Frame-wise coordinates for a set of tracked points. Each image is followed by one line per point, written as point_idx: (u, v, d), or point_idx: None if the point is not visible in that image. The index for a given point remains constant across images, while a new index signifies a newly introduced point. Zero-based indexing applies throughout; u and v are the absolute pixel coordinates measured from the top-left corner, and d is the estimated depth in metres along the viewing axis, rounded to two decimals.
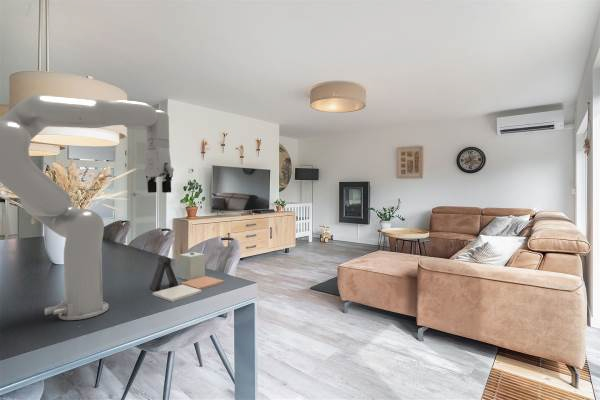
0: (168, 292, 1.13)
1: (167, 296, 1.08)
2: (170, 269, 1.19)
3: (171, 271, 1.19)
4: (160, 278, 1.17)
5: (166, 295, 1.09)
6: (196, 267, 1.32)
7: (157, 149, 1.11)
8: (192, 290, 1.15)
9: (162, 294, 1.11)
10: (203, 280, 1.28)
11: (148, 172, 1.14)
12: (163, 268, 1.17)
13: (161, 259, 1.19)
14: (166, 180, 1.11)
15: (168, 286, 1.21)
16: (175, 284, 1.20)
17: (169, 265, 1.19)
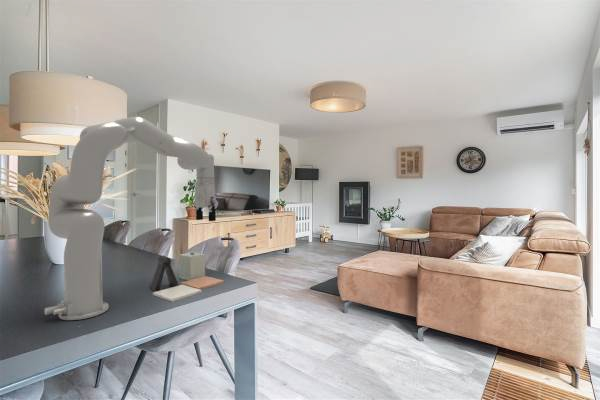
0: (168, 292, 1.13)
1: (167, 296, 1.08)
2: (170, 269, 1.19)
3: (171, 271, 1.19)
4: (160, 278, 1.17)
5: (166, 295, 1.09)
6: (196, 267, 1.32)
7: (205, 186, 1.35)
8: (192, 290, 1.15)
9: (162, 294, 1.11)
10: (203, 280, 1.28)
11: (197, 204, 1.39)
12: (163, 268, 1.17)
13: (161, 259, 1.19)
14: (212, 211, 1.35)
15: (168, 286, 1.21)
16: (175, 284, 1.20)
17: (169, 265, 1.19)
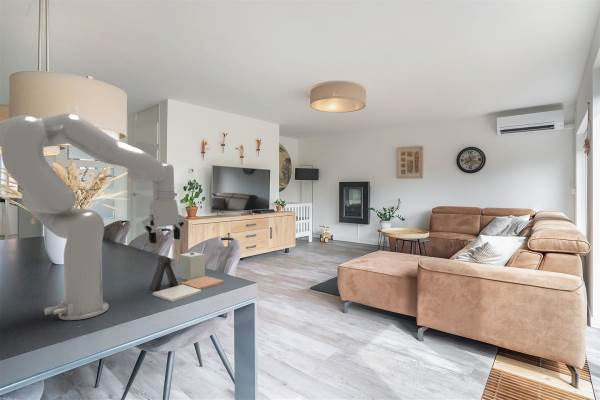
0: (168, 292, 1.13)
1: (167, 296, 1.08)
2: (170, 269, 1.19)
3: (171, 271, 1.19)
4: (160, 278, 1.17)
5: (166, 295, 1.09)
6: (196, 267, 1.32)
7: None
8: (192, 290, 1.15)
9: (162, 294, 1.11)
10: (203, 280, 1.28)
11: None
12: (163, 268, 1.17)
13: (161, 259, 1.19)
14: (148, 231, 1.16)
15: (168, 286, 1.21)
16: (175, 284, 1.20)
17: (169, 265, 1.19)
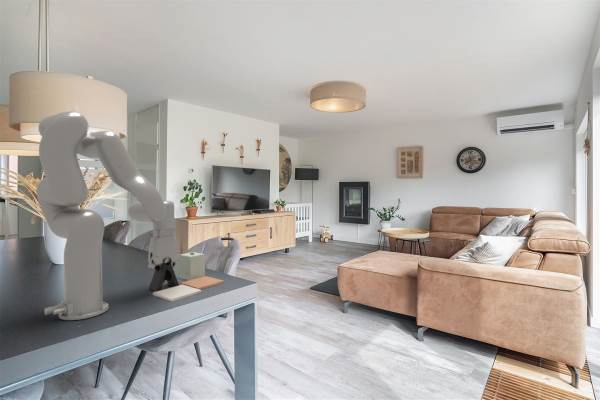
0: (168, 292, 1.13)
1: (167, 296, 1.08)
2: (171, 269, 1.19)
3: (172, 271, 1.20)
4: (162, 278, 1.17)
5: (166, 295, 1.09)
6: (196, 267, 1.32)
7: None
8: (192, 290, 1.15)
9: (162, 294, 1.11)
10: (203, 280, 1.28)
11: None
12: (164, 268, 1.17)
13: None
14: None
15: (168, 286, 1.21)
16: (176, 283, 1.21)
17: (170, 265, 1.19)
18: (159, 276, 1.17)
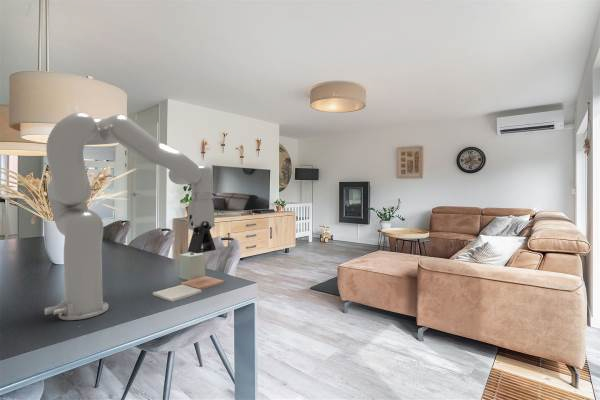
0: (168, 292, 1.13)
1: (167, 296, 1.08)
2: (209, 232, 1.25)
3: (209, 234, 1.25)
4: (201, 240, 1.22)
5: (166, 295, 1.09)
6: (196, 267, 1.32)
7: None
8: (192, 290, 1.15)
9: (162, 294, 1.11)
10: (203, 280, 1.28)
11: None
12: (203, 231, 1.23)
13: None
14: None
15: (205, 249, 1.27)
16: (212, 246, 1.26)
17: (208, 228, 1.24)
18: (198, 239, 1.22)
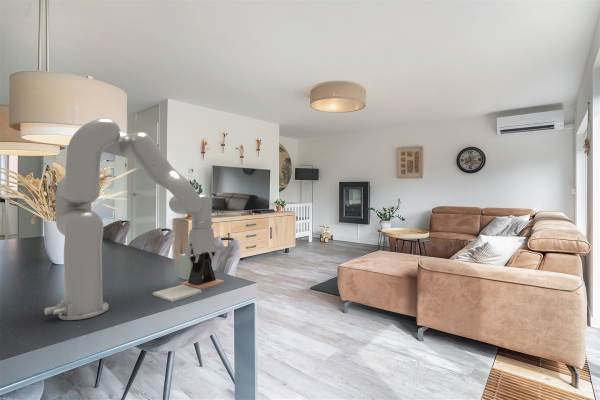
0: (168, 292, 1.13)
1: (167, 296, 1.08)
2: (209, 263, 1.25)
3: (210, 265, 1.26)
4: (201, 272, 1.22)
5: (166, 295, 1.09)
6: None
7: None
8: (192, 290, 1.15)
9: (162, 294, 1.11)
10: None
11: None
12: (204, 262, 1.23)
13: None
14: (192, 262, 1.23)
15: (205, 279, 1.27)
16: (213, 277, 1.27)
17: (208, 259, 1.25)
18: (199, 270, 1.23)
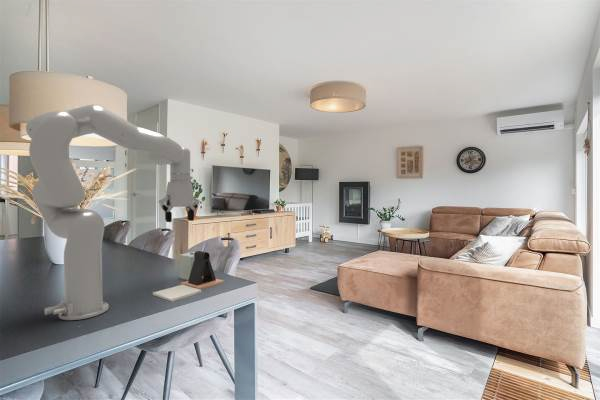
0: (168, 292, 1.13)
1: (167, 296, 1.08)
2: (209, 263, 1.25)
3: (210, 265, 1.26)
4: (201, 272, 1.22)
5: (166, 295, 1.09)
6: None
7: None
8: (192, 290, 1.15)
9: (162, 294, 1.11)
10: None
11: None
12: (204, 262, 1.23)
13: (200, 254, 1.24)
14: (165, 211, 1.22)
15: (205, 279, 1.27)
16: (213, 277, 1.27)
17: (208, 259, 1.25)
18: (199, 270, 1.23)
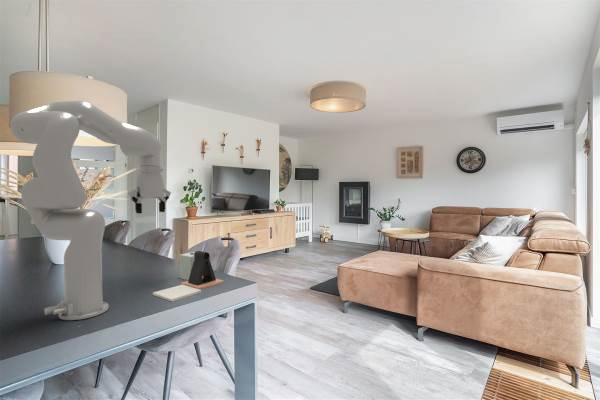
0: (168, 292, 1.13)
1: (167, 296, 1.08)
2: (209, 263, 1.25)
3: (210, 265, 1.26)
4: (201, 272, 1.22)
5: (166, 295, 1.09)
6: None
7: None
8: (192, 290, 1.15)
9: (162, 294, 1.11)
10: None
11: None
12: (204, 262, 1.23)
13: (200, 254, 1.24)
14: (135, 202, 1.24)
15: (205, 279, 1.27)
16: (213, 277, 1.27)
17: (208, 259, 1.25)
18: (199, 270, 1.23)
